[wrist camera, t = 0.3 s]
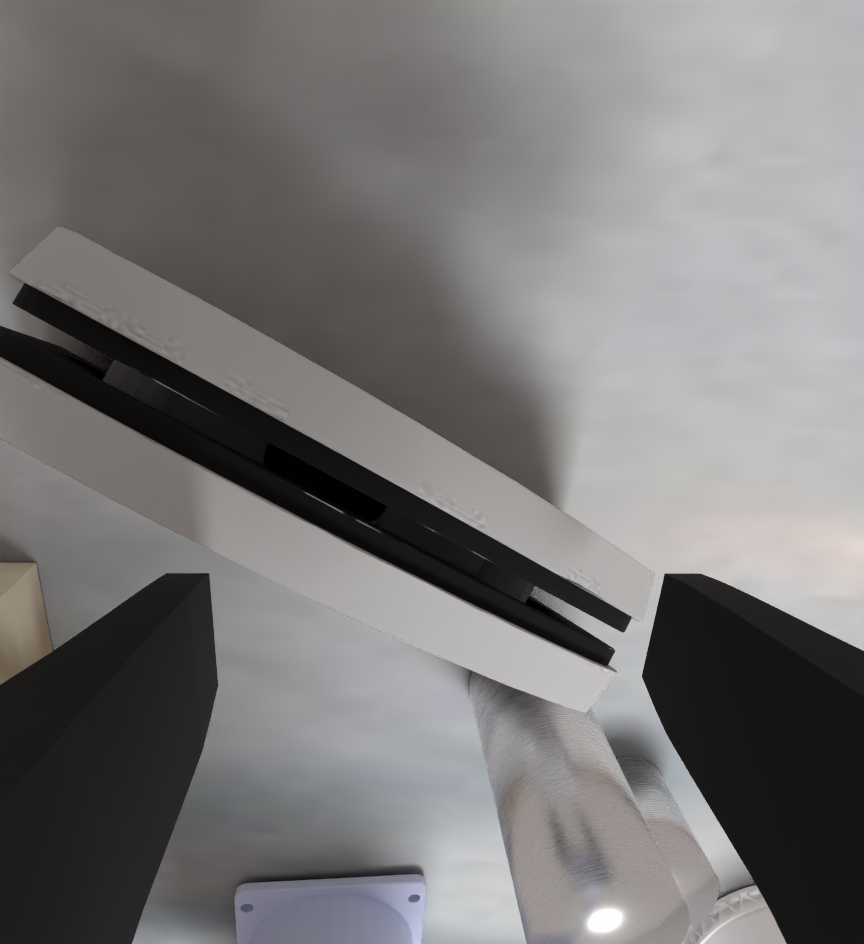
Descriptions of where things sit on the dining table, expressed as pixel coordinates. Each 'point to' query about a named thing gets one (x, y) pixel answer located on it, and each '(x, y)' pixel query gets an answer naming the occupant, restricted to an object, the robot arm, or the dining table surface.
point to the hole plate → (21, 619)
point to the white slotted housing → (291, 505)
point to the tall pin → (572, 826)
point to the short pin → (673, 836)
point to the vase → (737, 921)
